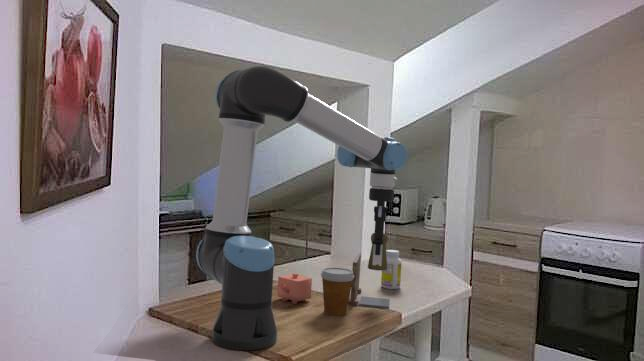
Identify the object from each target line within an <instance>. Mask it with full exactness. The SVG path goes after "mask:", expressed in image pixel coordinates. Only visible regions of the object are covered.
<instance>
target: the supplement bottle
mask: <svg viewBox="0 0 644 361" xmlns="http://www.w3.org/2000/svg"><path fill="white" fill-rule="evenodd" d="M386 256H387V270H382V271H381V279H380V282H381V284H380V286H381V287H382V288H384V289H388V290H398V289H400V288H401V278H402V263H403V262H402V259H401V258H399V256H400V250H397V249H396V250H395V249H386Z"/></svg>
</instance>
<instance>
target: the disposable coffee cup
mask: <svg viewBox="0 0 644 361" xmlns="http://www.w3.org/2000/svg"><path fill="white" fill-rule="evenodd" d="M320 276H321V279H322V280H321V281H322V291H323V292H322V293H323V294H322V295H323V309H324V310H323V311H324V313H325V314H326V315H329V316H335V317H337V316H338V317H339V316H345V315H347V310H348V306H349V305H348V301H349V299H350V297H351V285H352V280H353V278H354V275H353V271H352V270H351V269H349V268H345V267H325V268H323V269H322V272H320Z"/></svg>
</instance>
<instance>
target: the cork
mask: <svg viewBox="0 0 644 361" xmlns="http://www.w3.org/2000/svg"><path fill="white" fill-rule="evenodd" d="M374 235H375V232H373V233H372V234H371V235H370V241H371V249H370V253H369V254H370V255H369V259H368V263H367V269H369V270H373V271H381V272H382V270H387V256H386V250H387V243H388V240H389V237H388V234H387V233H385V232H384V233H383V249H382V264H381V266H379V264H377V265H372V263H373V247H374V244H372V242H374Z"/></svg>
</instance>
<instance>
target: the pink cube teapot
mask: <svg viewBox="0 0 644 361" xmlns="http://www.w3.org/2000/svg"><path fill="white" fill-rule="evenodd" d="M312 282H313V277H307V276H304V275H299V273H297V272H293V273H289V274H285V275H279V276H278V278H277V294H276V295H277V296H276V297H279V298H282V299H281V300H282V301H284V302H285V301H286V302H287V301H288V300H289V301H291V304H295V305H296V304H298V302H306V300H308V299H312V286H313V285H312V284H313V283H312Z"/></svg>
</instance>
